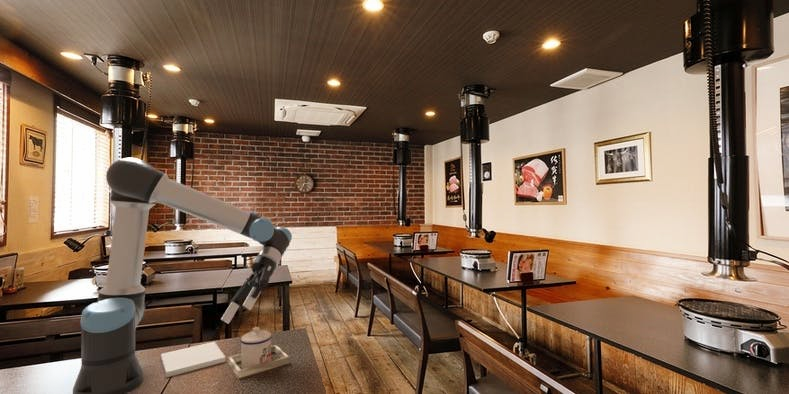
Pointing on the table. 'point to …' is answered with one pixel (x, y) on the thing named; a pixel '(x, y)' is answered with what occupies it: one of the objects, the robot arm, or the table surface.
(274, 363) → the cup holder
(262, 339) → the teacup with lid
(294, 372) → the table surface
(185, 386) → the table surface
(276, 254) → the robot arm
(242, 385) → the table surface
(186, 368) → the ceramic board
